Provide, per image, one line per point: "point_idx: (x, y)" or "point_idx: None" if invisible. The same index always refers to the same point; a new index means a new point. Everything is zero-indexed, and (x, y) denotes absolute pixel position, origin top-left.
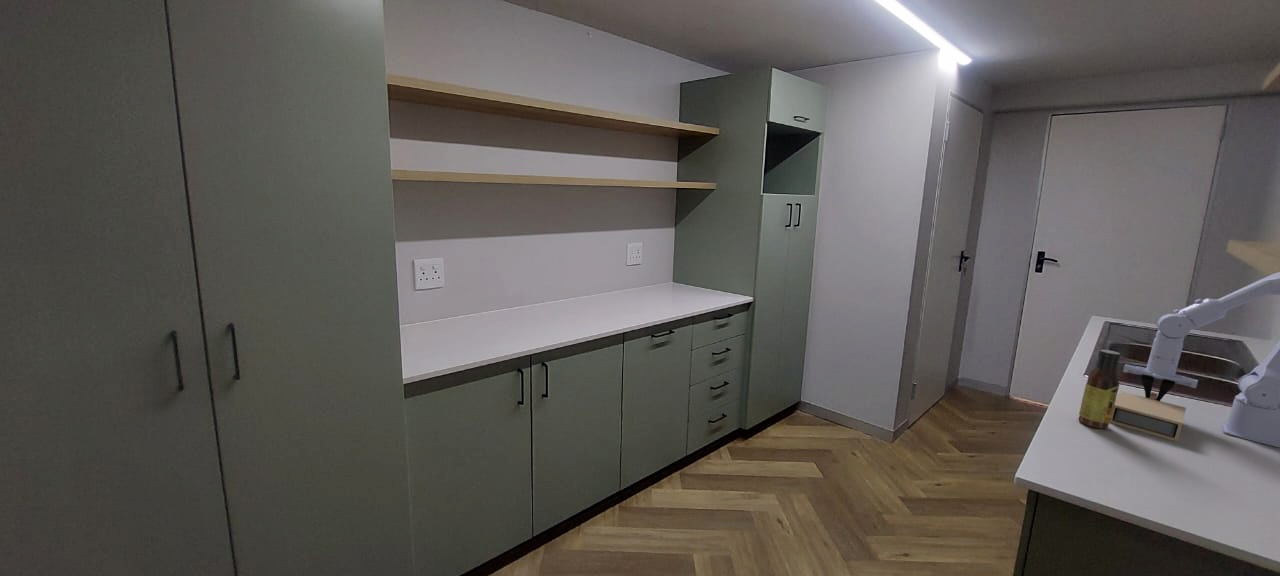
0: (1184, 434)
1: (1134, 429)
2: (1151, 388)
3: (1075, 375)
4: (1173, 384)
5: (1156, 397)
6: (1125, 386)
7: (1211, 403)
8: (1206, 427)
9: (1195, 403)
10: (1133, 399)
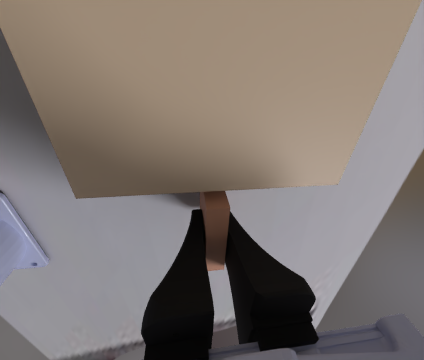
0: None
1: None
2: (237, 264)
3: (332, 295)
4: (147, 338)
5: (204, 247)
6: None
7: (126, 342)
8: (60, 204)
9: None
10: (313, 74)
